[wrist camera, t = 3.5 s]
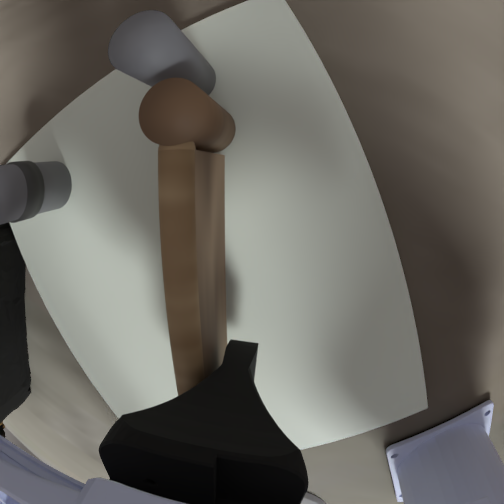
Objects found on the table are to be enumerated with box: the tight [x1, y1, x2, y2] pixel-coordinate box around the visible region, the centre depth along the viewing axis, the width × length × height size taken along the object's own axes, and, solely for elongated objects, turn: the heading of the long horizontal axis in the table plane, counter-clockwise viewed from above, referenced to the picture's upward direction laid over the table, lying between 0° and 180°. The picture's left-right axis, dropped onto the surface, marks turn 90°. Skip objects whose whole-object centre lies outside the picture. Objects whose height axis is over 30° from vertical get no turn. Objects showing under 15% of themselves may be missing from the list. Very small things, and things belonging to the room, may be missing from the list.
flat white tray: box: [0, 0, 428, 450], centre depth 12 cm, size 22×18×6 cm
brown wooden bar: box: [139, 78, 236, 396], centre depth 11 cm, size 13×2×4 cm, turn 0°
